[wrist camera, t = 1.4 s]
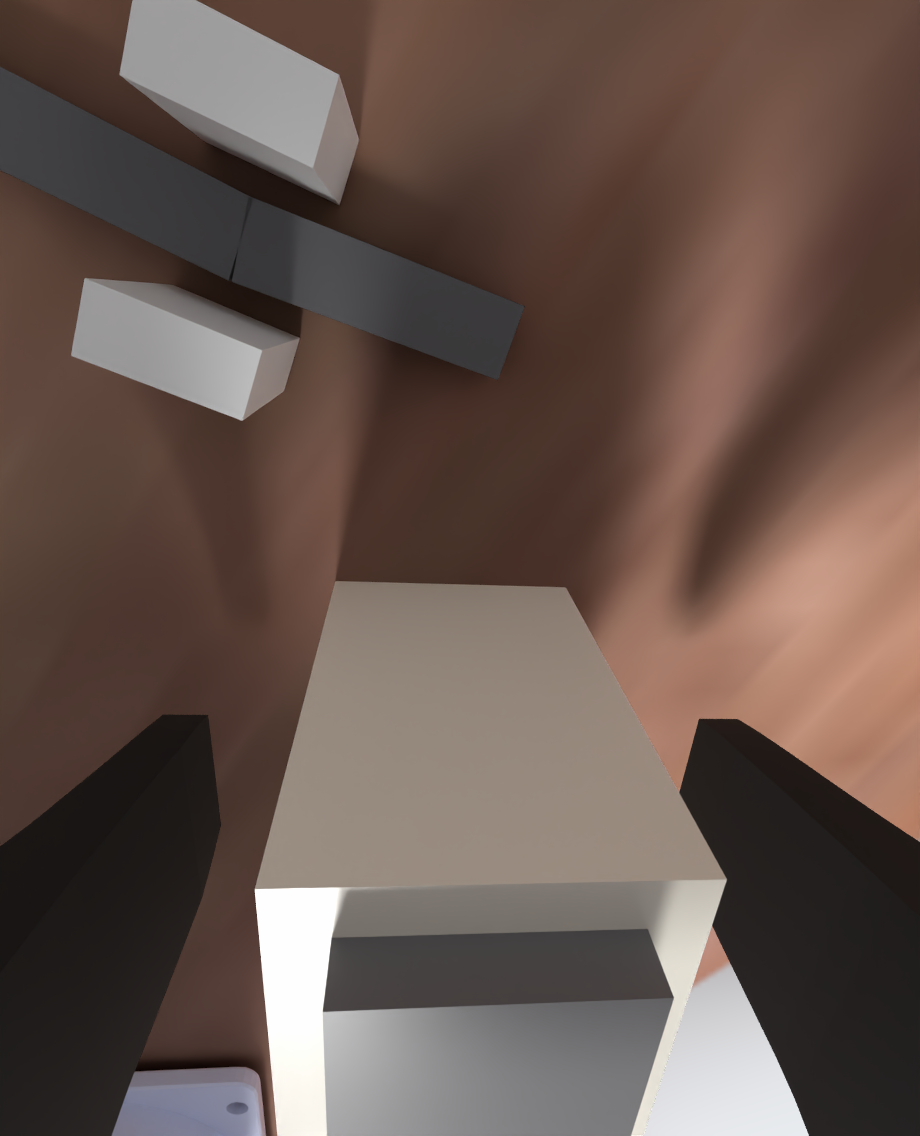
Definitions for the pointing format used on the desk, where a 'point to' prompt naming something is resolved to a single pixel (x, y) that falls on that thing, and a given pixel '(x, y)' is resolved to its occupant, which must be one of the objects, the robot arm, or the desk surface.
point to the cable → (246, 233)
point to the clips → (250, 132)
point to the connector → (474, 878)
